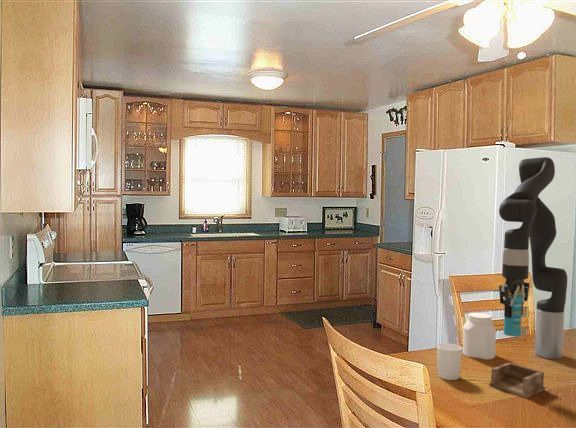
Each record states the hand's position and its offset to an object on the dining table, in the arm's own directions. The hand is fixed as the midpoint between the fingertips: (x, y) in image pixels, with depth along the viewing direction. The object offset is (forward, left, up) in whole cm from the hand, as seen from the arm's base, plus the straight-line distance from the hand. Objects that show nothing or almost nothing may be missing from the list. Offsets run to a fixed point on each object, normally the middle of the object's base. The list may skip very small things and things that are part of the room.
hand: (513, 316), depth 161 cm
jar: (-19, -23, -22) cm, 37 cm away
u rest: (+1, +2, -22) cm, 22 cm away
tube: (0, 0, -6) cm, 6 cm away
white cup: (+10, -16, -22) cm, 29 cm away
